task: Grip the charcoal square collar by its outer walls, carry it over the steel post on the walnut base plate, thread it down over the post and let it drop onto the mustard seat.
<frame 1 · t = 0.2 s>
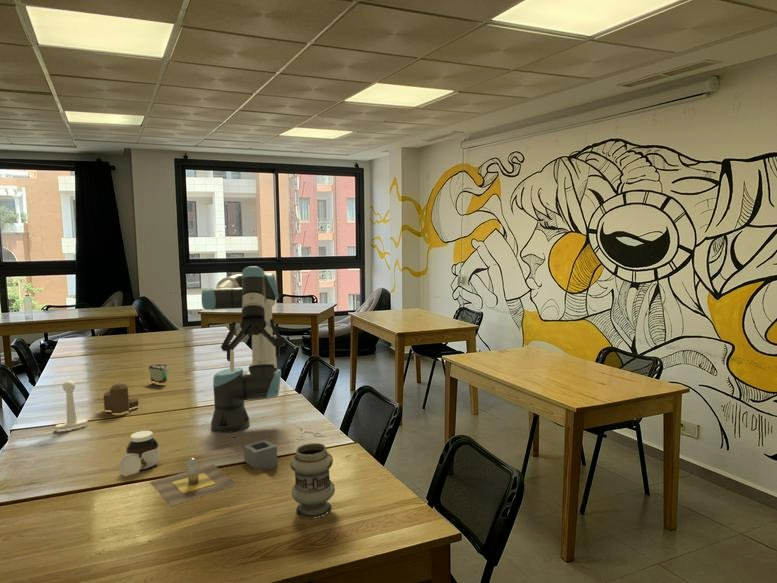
hand: (253, 368, 174), 35 cm above the table, tool tilted 35°, fingers open, 13 cm apart
food container: (162, 384, 288), on the table
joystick: (71, 428, 224), on the table
apothecary jar: (313, 510, 153), on the table
steel post: (193, 483, 168), resting on base plate
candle: (121, 411, 244), on the table
scissors: (304, 432, 215), on the table
collar: (261, 465, 183), on the table
spread jar: (140, 470, 181), on the table
base plate: (193, 487, 168), on the table
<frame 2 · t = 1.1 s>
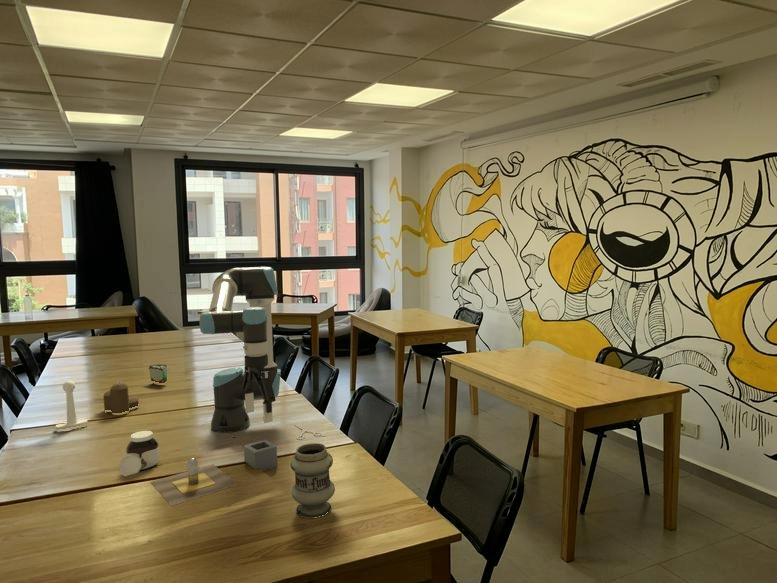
hand: (258, 417, 181), 17 cm above the table, tool pointing down, fingers open, 13 cm apart
nothing on the table moved.
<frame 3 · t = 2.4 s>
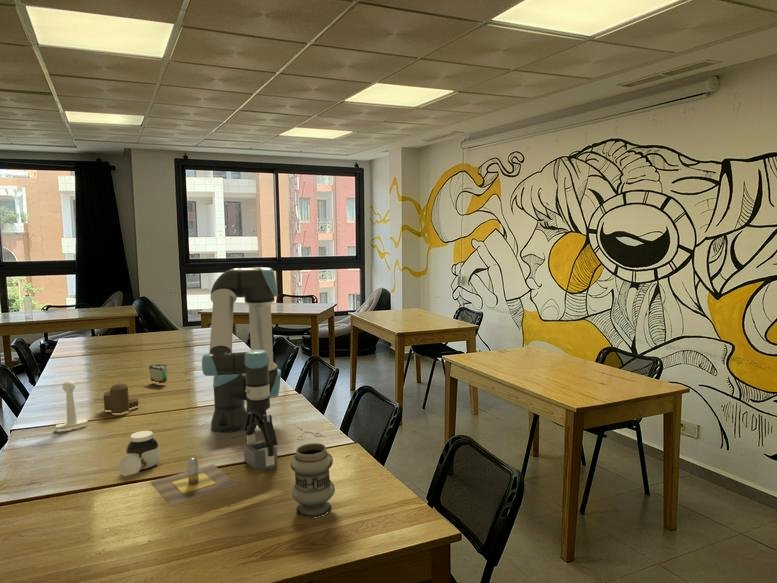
hand: (260, 459, 182), 3 cm above the table, tool pointing down, fingers open, 13 cm apart
nothing on the table moved.
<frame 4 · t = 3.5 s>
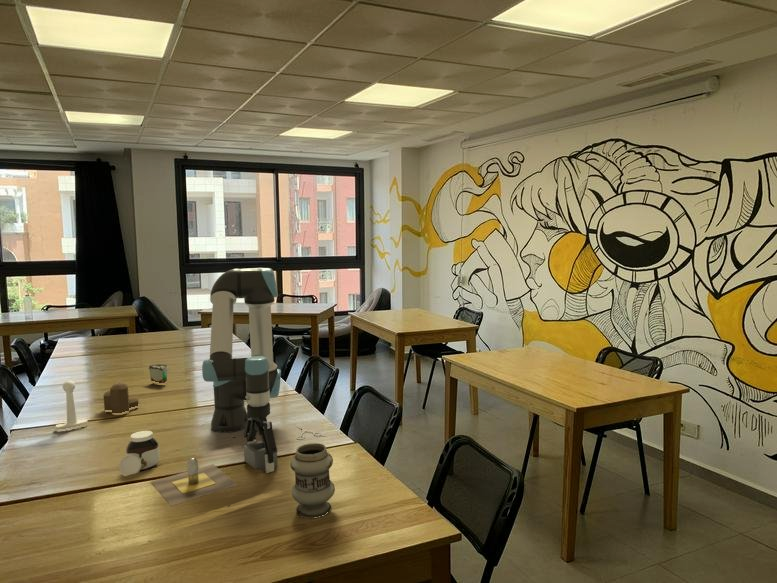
hand: (261, 465, 183), 0 cm above the table, tool pointing down, fingers open, 12 cm apart
nothing on the table moved.
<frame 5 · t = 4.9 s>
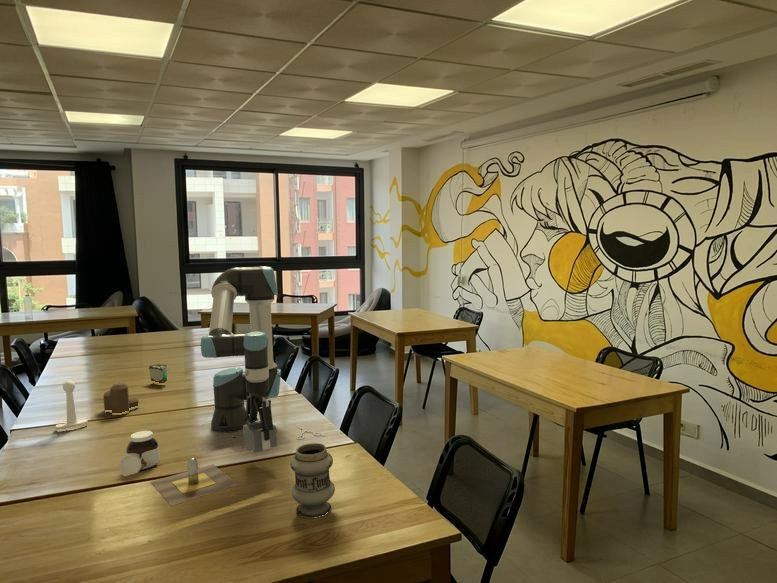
hand: (260, 444, 183), 7 cm above the table, tool pointing down, fingers closed on collar, 8 cm apart
collar: (260, 445, 183), point 7 cm above the table, touching gripper
everything else where it was.
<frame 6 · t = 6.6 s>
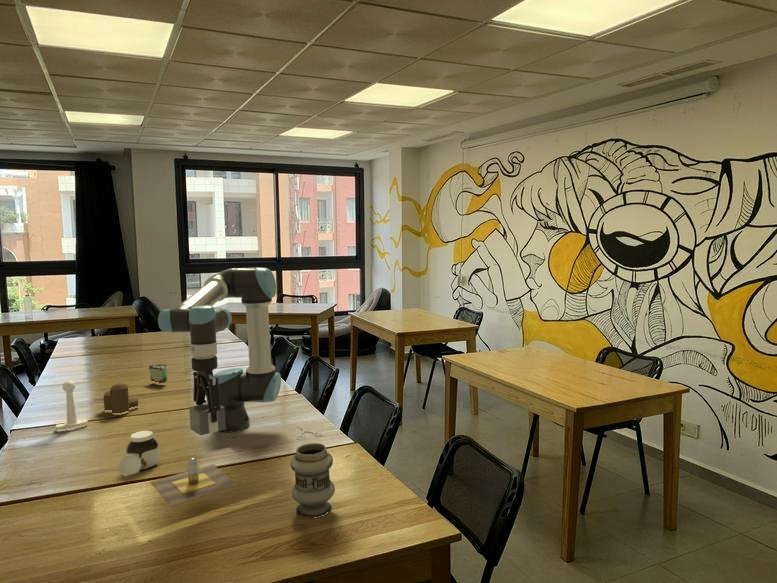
hand: (207, 428, 169), 18 cm above the table, tool pointing down, fingers closed on collar, 8 cm apart
collar: (208, 429, 169), point 18 cm above the table, touching gripper
everything else where it was.
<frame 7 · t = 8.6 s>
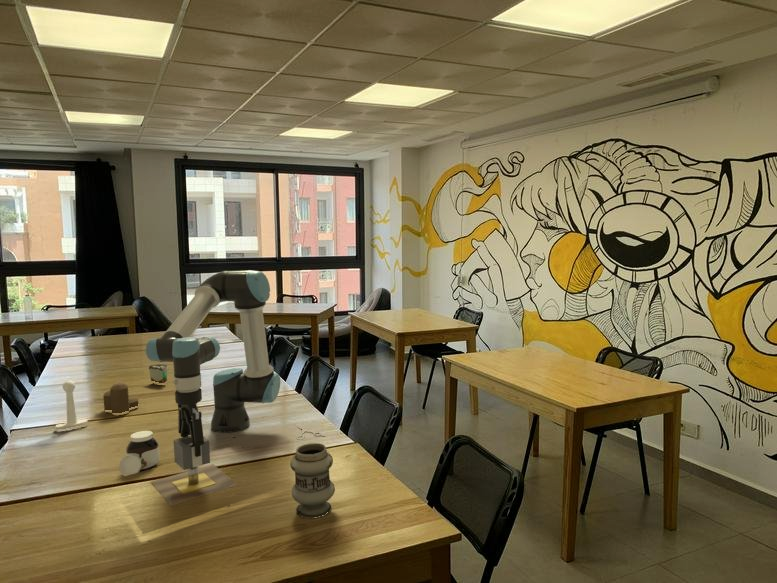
hand: (192, 461, 167), 9 cm above the table, tool pointing down, fingers closed on collar, 8 cm apart
collar: (192, 462, 167), point 8 cm above the table, touching gripper
everything else where it was.
when the fingers open (3 cm above the table, at t = 10.6 s): collar stays where it is, resting on base plate.
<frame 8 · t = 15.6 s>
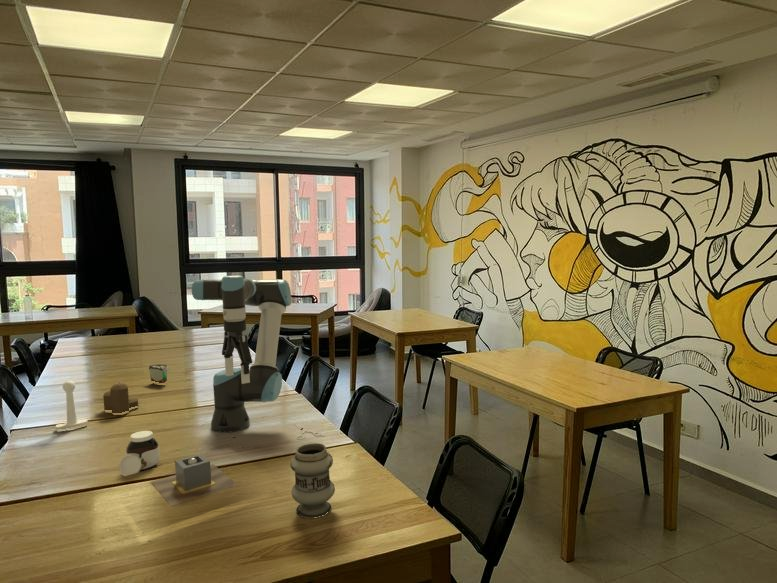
hand: (237, 379, 192), 27 cm above the table, tool pointing down, fingers open, 13 cm apart
collar: (193, 482, 168), point 2 cm above the table, touching base plate
everything else where it was.
at the end: collar 0.0 cm from the steel post (horizontally); collar point 1.7 cm above the table; the gripper is holding nothing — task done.
